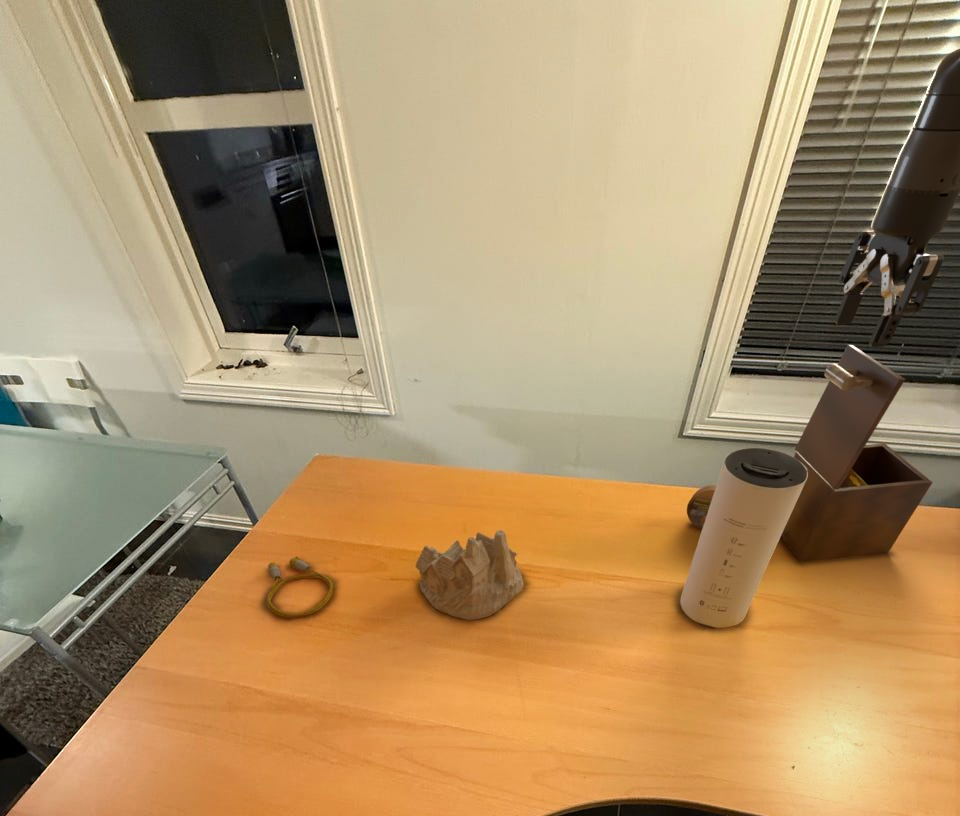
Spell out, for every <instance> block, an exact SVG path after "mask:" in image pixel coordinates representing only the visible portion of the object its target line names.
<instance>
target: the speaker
mask: <svg viewBox="0 0 960 816" xmlns="http://www.w3.org/2000/svg"><path fill="white" fill-rule="evenodd" d="M807 470H808V469H807V468H806V467H805V466H804V465H803V464H802V463H801V462H800V461H799V460H797V459H796V458H794V456H792V455H791V454H789V453H786V452H783V451H780V450H775V449H771V448H766V447H745V448H740V449H737V450H733V451H732V452H731V451H730V453H728V454H727V455H726V456H725V457H724V461H723V463H722V466H721V470H720V474H719V476H718V478H717V482H716V484H715V485H716V488H715V491H714V495H713V498H712V501H711V504H710V507H709V510H708V513H707V517H706V520H705V523H704V526H703V529H701V532H700V536H699V539H698V542H697V544H696V548H695V550H694V551H695V552H694V554H693V558H692V561H691V563H690V566H689V570H688V574H687V576H686V580H685V583H684V586H683V589H682V593H681V594H680V598H679V599H680V600H679V601H680V602H679V603H680V608H681V610H682V611H683V613H684V614H685V615H686V616H687V617H688V618H689V619H691V620H692V621H693V622H694V623H697V624H699V625H701V626H704V627H705V626H706V627H709V628H715V629H716V628H717V629H723V628H724V629H725V628H730V627H734V626H736V625H739V624H740V623H742V622H743V621H744V620H745V618H746V615H747V613H748V612H749V609H750V607H751V606H752V603H753V600H754V598H755V595H756V593H757V591H758V589H759V585H760V584H761V582H762V579H763V577H764V574H765V572H766V571H767V567H768V566H769V563H770V561H771V559H772V557H773V555H774V552H775V550H776V548H777V546H778V543H779V541H780V539H781V535H782V532H783V530H784V528H785V526H786V524H787V521H788V519H789V517H790V515H791V513H792V511H793V508H794V506H795V504H796V502H797V500H798V498H799V495H800V493H801V491H802V489H803V487H804V484H805V482H806V480H807V477H808V472H807Z"/></svg>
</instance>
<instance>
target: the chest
mask: <svg viewBox="0 0 960 816" xmlns="http://www.w3.org/2000/svg"><path fill="white" fill-rule="evenodd" d="M793 457H794V458H796V459H797V460H799V461H800V462H801V463H802V464H803V465H804V466H805V467H806V468H807V469H808V470H807V472H808V477H807V480H806V482H805V484H804V487H803V489H802V491H801V493H800V495H799V498H798V500H797V502H796V504H795V506H794V508H793V511H792V513H791V515H790V517H789V519H788V521H787V524H786V526H785V528H784V530H783V532H782V535H781V537H780V539H782V541H783V542H784V543H785V544H786V546H787V547H788V549H790V551H791V552H792V553H793V554H794V556H795V557H796V558H797V560H798V561H799V562H800V563H807V562H808V563H809V562H818V561H826V560H827V561H828V560H835V559H837V560H838V559H848V558H857V557H866V556H877V555H878V556H879V555H885V554H889V552H890V551H891V549H892V548H893V546H894V545H895V543H896V541H897V540H898V538H899V537H900V535H901V533H902V532H903V530H904V528H905V527H906V525H907V524H908V522H909V521H910V519H911V518H912V516H913V514H914V513H915V511H916V510H917V508H918V506H919V505H920V503H921V501H922V500H923V499H924V497H925V495H926V494H927V492H928V491H929V490H930V488H931V486H932V484H933V481H932V480H930V479H929V478H928V477H927V476H926V475H924V474H923V473H922V472H921V471H919V470H918V469H917V468H916V467H915V466H913V465H912V464H911V463H910V462H909V461H907V460H906V459H905V458H903V456H901V455H899V454H898V453H897V452H896V451H895V450H893V448H891V447H890V446H889V445H887V444H886V443H884V442H882V443H872V444H866V445H865V447H864V448H863V450H862V452H861V453H860V455H859V457H858V458H857V460H856V462H855V463H854V465H853V467H852V468H851V469H852V470H853V471H854V472H855V473H856V474H857V475H858V476H859V477H860V478H861V479H862V480H863V481H864V482H865V483H866V484H867V485H868V486H858V487H847V488H839V489H834V488H833V487H832V486H831V485H830V484H829V483H828V482H827V481H826V480H825V479H824V478H823V477H822V476H821V475H820V474H819V473H818V472H817V471H816V470H815V469H814V468H813V467H812V466H811V465H810V464H809V463H808V462H807V461H806V460H805V459H804V458H803V457H802V456H801V455H800V454H799V453H798V452H797V451H795V453H794V455H793Z"/></svg>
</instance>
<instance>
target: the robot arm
mask: <svg viewBox="0 0 960 816" xmlns="http://www.w3.org/2000/svg"><path fill="white" fill-rule="evenodd" d="M959 196H960V48H957V49H955V50H953V51H951V52H949V53H948V54H946V56H945V57H943V59H942V60H941V62H939V64H938V66H937V68H936V69H935V71H934V73H933V76H932V77H931V80H930V83H929V85H928V87H927V90H926V93H925V95H924V96H923V100H922V102H921V105H920V107H919V110H918V111H917V115H916V117H915V119H914V122H913V124H912V128H911V129H910V131H909V134H908V136H907V139H906V140H905V142H904V143H903V146H902V147H901V150H900V152H899V155H898V156H897V158H896V161H895V163H894V167H893V169H892V171H891V174H890V176H889V179H888V181H887V184H886V187H885V189H884V191H883V194H882V197H881V198H880V201H879V203H878V207H877V209H876V211H875V214H874V216H873V219H872V222H871V225H870V228H871V230H864V231H859V232H858V233H857V235H856V237H855V239H854V242H853V244H852V246H851V249H850V251H849V254H848V256H847V258H846V261H845V263H844V266H843V268H842V270H841V273H840V275H839V277H838V283H839V284H840V285H843V286H844V287H843V293H844V295H843V298H842V300H841V301H840V306H839V308H838V309H837V312H836V317H835V319H834V323H835V324H837V326H843V325H844V326H845V325H850V324H851V323H853V321H854V319H855V316H856V314H857V311H858V309H859V307H860V304H861V302H862V300H863V298H864V295H865V294H864V293H863V292H865V291H866V290H867V289H868V288H869V287H870V286H871V285H872V284H873V283H875V284H876V285H877V286H879V287H880V296H881V297H883V299H884V304H883V313H882V314H881V315H880V317H879V319H878V322H877V324H876V326H875V328H874V330H873V332H872V335H871V337H870V339H869V342H868V345H869V346H871V347H872V348H883V347H885V346H887V345H888V344H889V343H890V342H891V341H892V339H893V337H894V335H895V333H896V330H897V328H898V326H899V325H900V322H901V320H902V318H903V317H904V316H905V315H912V314H913V315H914V314H919V313H920V312H921V310H922V309H923V307H924V304H925V302H926V300H927V299H928V296H929V293H930V291H931V289H932V287H933V284H934V282H935V280H936V278H937V276H938V274H939V271H940V269H941V268H942V265H943V263H944V259H945V256H944V254H928V253H927V247H928V244H929V241H930V240H931V239H932V238H933V237H934V236H936V235H938V234H939V233H941V232H942V230H943V229H944V227H945V225H946V223H947V221H948V219H949V217H950V215H951V212H952V211H953V208H954V206H955V204H956V202H957V200H958V198H959ZM855 265H857V266H856V269H855V270H854V271H853V272H852V270H853V269H854V266H855ZM902 282H903V284H901V283H902ZM915 293H916V296H915V298H914V300H913V301H912V300H911V299H912V297H913V295H914V294H915ZM897 296H899V300H898V302H897V303H896V298H897ZM911 301H912V302H911Z"/></svg>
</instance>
